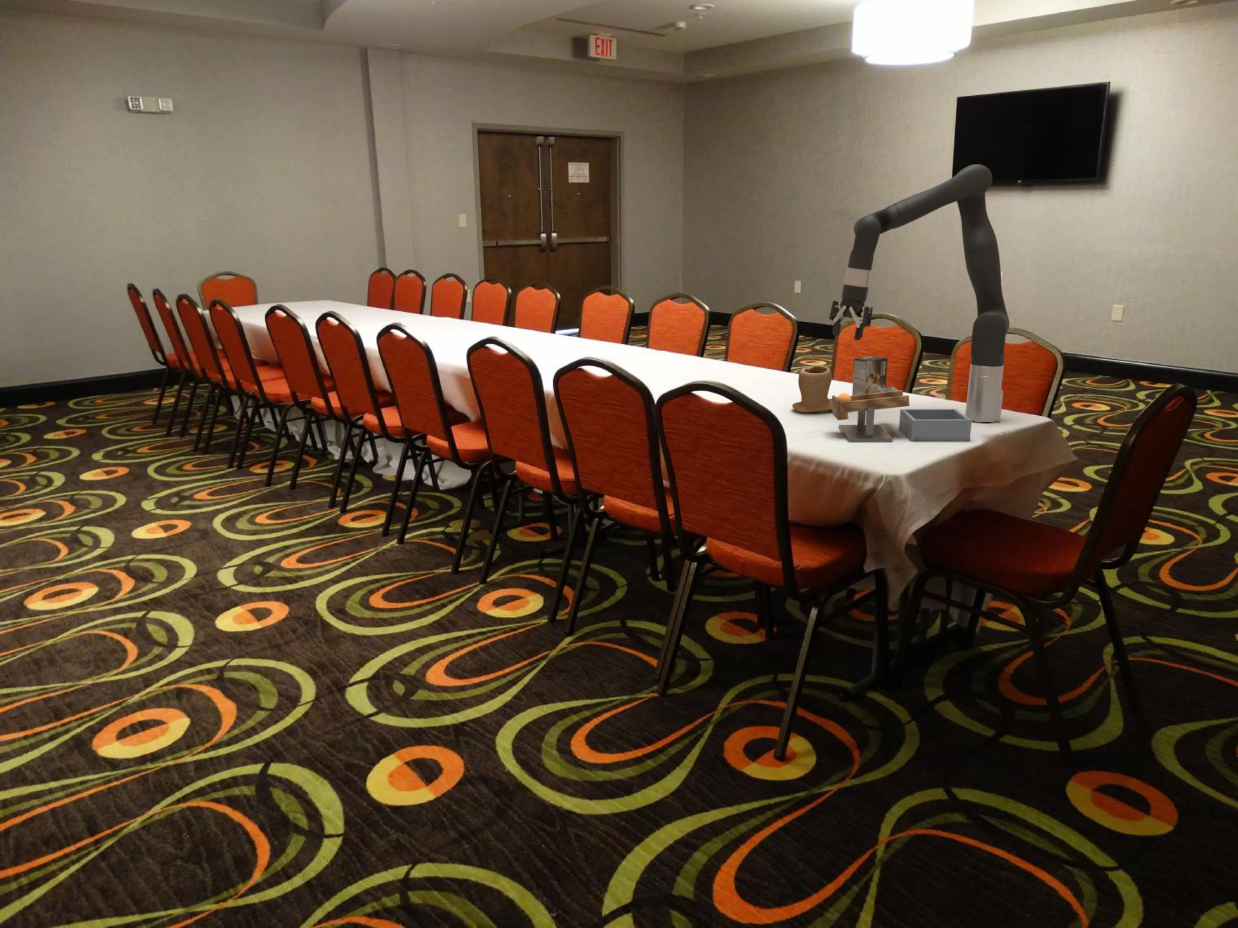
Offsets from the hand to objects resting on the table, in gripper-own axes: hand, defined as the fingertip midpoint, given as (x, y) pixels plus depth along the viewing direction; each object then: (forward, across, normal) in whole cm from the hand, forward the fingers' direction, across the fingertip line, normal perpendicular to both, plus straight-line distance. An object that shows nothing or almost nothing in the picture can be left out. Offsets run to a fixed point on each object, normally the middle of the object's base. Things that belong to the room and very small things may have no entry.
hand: (846, 337), depth 259 cm
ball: (+15, -16, +16) cm, 28 cm away
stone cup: (+26, +8, -2) cm, 27 cm away
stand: (+25, -21, +10) cm, 34 cm away
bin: (+22, -33, -6) cm, 40 cm away
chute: (+18, -18, +6) cm, 26 cm away
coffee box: (+23, +3, -21) cm, 31 cm away
